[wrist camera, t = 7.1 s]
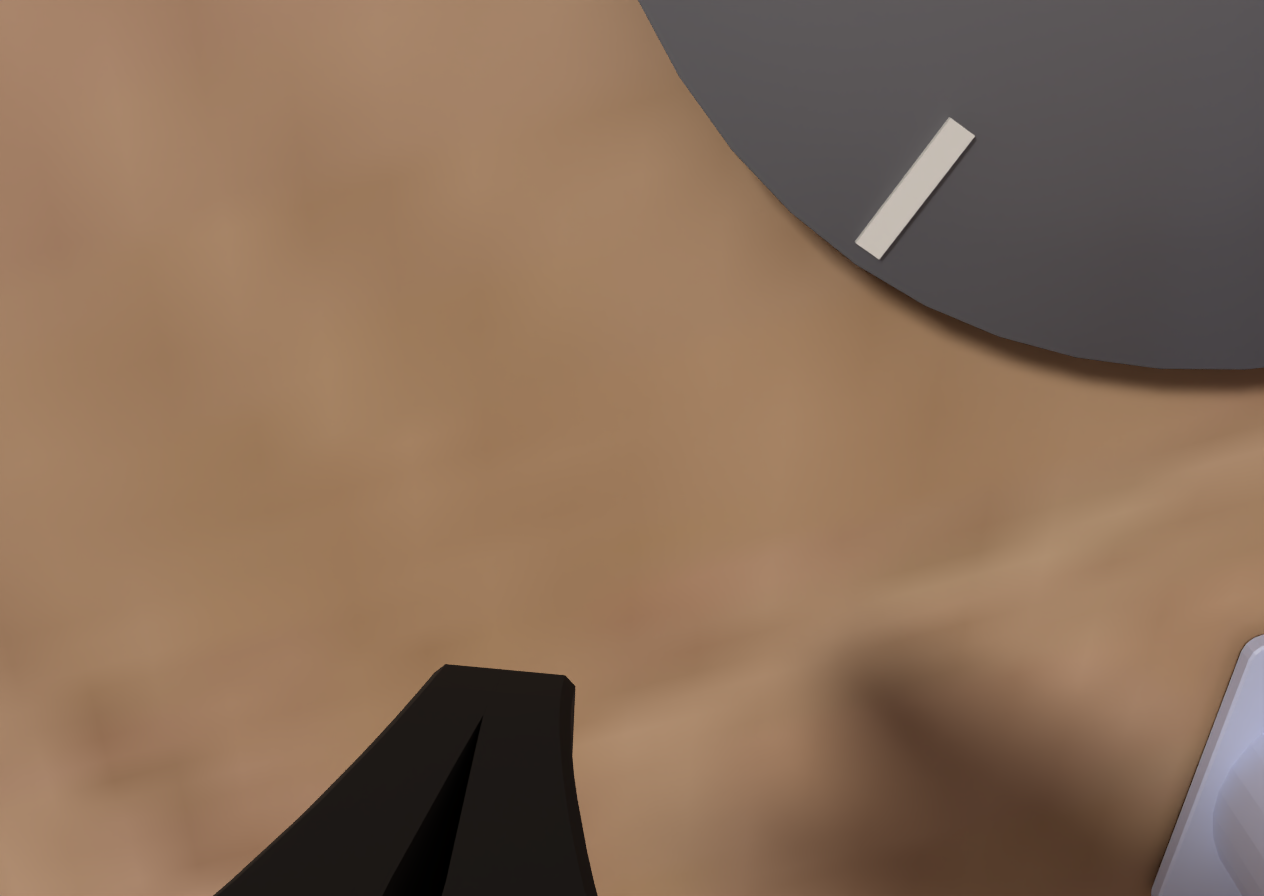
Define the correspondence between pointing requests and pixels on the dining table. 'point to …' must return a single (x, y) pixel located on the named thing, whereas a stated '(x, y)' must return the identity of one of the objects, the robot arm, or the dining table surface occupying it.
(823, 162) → the tuner dial
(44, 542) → the dining table surface
